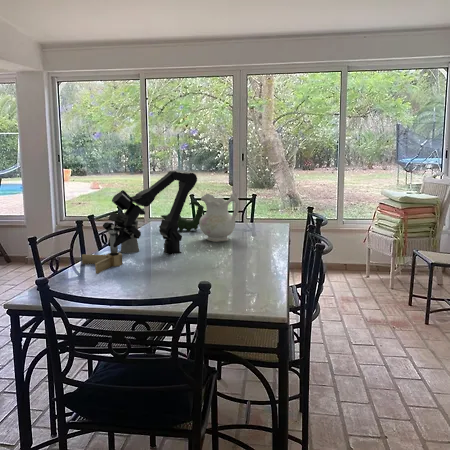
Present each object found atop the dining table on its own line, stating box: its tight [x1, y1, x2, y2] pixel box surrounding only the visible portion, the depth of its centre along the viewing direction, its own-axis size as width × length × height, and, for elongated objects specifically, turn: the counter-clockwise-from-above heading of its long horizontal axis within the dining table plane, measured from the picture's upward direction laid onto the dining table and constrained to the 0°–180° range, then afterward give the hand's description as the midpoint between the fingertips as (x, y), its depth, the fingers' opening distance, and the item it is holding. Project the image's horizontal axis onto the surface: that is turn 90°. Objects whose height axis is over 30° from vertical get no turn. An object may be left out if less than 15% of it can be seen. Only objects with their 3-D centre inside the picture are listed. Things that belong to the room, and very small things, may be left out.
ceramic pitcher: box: [198, 193, 240, 243], centre depth 241 cm, size 22×20×25 cm
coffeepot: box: [120, 218, 140, 254], centre depth 216 cm, size 15×9×18 cm, turn 33°
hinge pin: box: [107, 230, 119, 256], centre depth 191 cm, size 4×4×13 cm
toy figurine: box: [160, 200, 205, 232], centre depth 267 cm, size 9×19×25 cm
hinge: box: [81, 252, 124, 274], centre depth 190 cm, size 14×19×4 cm
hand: (111, 246), depth 190 cm, fingers closed on hinge pin, 3 cm apart
